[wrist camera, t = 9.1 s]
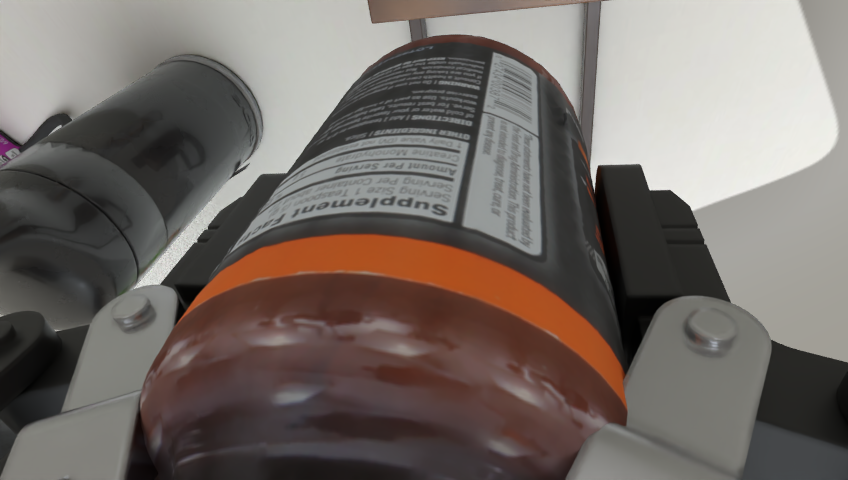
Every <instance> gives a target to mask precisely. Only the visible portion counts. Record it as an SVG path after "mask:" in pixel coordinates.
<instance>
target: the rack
mask: <svg viewBox="0 0 848 480" xmlns="http://www.w3.org/2000/svg"><path fill="white" fill-rule="evenodd" d="M601 1H608V0H368V5H369V10H370V16H371V21H372V23H383V22H394V21H404V20H409V25H410V32H411V39H412V42H413V41H416V40H420V39H424V38H427V34H426V26H425V18H434V17H444V16H455V15H465V14H475V13H485V12H495V11H506V10H516V9H526V8H536V7H546V6H557V5H567V4H577V3H585V17H584V37H583V57H582V77H581V97H580V116H579V125H580V127H581V130H582V134H583V138H584V141H585V144H586V148H587V153H588V160H589V164H590V159H591V144H592V129H593V114H594V99H595V84H596V70H597V55H598V40H599V25H600V10H601Z"/></svg>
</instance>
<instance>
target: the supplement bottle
mask: <svg viewBox="0 0 848 480" xmlns="http://www.w3.org/2000/svg"><path fill="white" fill-rule="evenodd" d="M628 370H629V368H628V364H627V360H626V357H625V353H624V349H623V345H622V338H621V330H620V325H619V321H618V315H617V311H616V306H615V296H614V292H613V287H612V283H611V279H610V276H609V271H608V266H607V262H606V256H605V251H604V245H603V240H602V235H601V230H600V224H599V218H598V212H597V205H596V199H595V194H594V188H593V184H592V179H591V174H590V164H589V160H588V153H587V148H586V144H585V141H584V138H583V134H582V130H581V127H580V125H579V122H578V119H577V116H576V114H575V111H574V108H573V106H572V104H571V102H570V101H569V99H568V97H567V96H566V94H565V92H564V91H563V89H562V88H561V86H560V84H559V83H558V82H557V80H556V79H555V78H554V77H553V76H552V75H551V74H550V73H549V72H548V71H547V70H546V69H545V68H544V67H543V66H542V65H540V64H538V63H537V62H535V61H534V60H533V59H532V58H530V57H528V56H526V55H525V54H523V53H521V52H520V51H518V50H516V49H514V48H512V47H510V46H507V45H505V44H503V43H500V42H497V41H494V40H491V39H487V38H485V37H479V36H478V37H476V36H472V35H441V36H433V37H429V38H424V39H420V40H416V41H413V42H410V43H408V44H406V45H403V46H401V47H399V48H397V49H395V50H393V51H391V52H390V53H388V54H386V55H385V56H383V57H382V58H381V59H379V60H378V61H377V62H376V63H374V64H373V65H371V66H369V67H368V68H367V69H366V71H365V72H364V73H363V74H362V75H361V77H360V78H359V79H358V80H357V81H356V82H355V83H354V84H353V85H352V86H351V88H350V89H349V90H348V91H347V92H346V94H345V95H344V97H343V98H342V99H341V101H340V102H339V103H338V105H337V106H336V108H335V109H334V110H333V112H332V113H331V114H330V116H329V117H328V118H327V120H326V121H325V122H324V123H323V125H322V126H321V127H320V129H319V131H318V132H317V133H316V134H315V135H314V137H313V138H312V140H311V141H310V143H309V144H308V145H307V146H306V147H305V149H304V151H303V152H302V154H301V155H300V156H299V158H298V159H297V160H296V162H295V163H294V165H293V166H292V167H291V169H290V170H289V171H288V173H287V174H286V175H285V176H284V178H283V179H282V180H281V181H280V183H279V184H278V186H277V187H276V188H275V189H274V191H273V192H272V194H271V196H270V197H269V198H268V199H267V201H266V202H265V203H264V204H263V205H262V207H261V208H260V210H259V211H258V213H257V214H256V215H255V217H254V218H253V219H252V220H251V222H250V223H249V225H248V226H247V227H246V229H245V230H244V231H243V233H242V234H241V235H240V236H239V238H238V239H237V240H236V241H235V243H234V244H233V245H232V246H231V248H230V249H229V251H228V253H227V255H226V256H225V258H224V259H223V261H222V262H221V263H220V264H219V265H218V266H217V268H216V269H215V270H214V272H213V273H212V275H211V276H210V278H209V281H208V284H207V285H206V286H205V287H204V288H203V290H202V291H201V292H200V293H199V294H198V295H197V297H196V298H195V299H194V301H193V302H192V304H191V305H190V306H189V308H188V309H187V311H186V312H185V313H184V315H183V316H182V318H181V319H180V320H179V322H178V323H177V325H176V326H175V327H174V329H173V330H172V332H171V333H170V335H169V336H168V338H167V340H166V341H165V343H164V345H163V347H162V348H161V350H160V352H159V353H158V355H157V356H156V358H155V360H154V361H153V363H152V365H151V367H150V369H149V371H148V373H147V375H146V378H145V381H144V383H143V387H142V392H141V397H140V419H141V427H142V430H143V434H144V440H145V445H146V448H147V451H148V454H149V456H150V458H151V460H152V462H153V464H154V466H155V467H156V469H157V471H158V473H159V474H158V475H157V476H156V478H155V480H565V479H566V477H567V475H568V473H569V471H570V469H571V467H572V465H573V463H574V461H575V459H576V457H577V454H578V452H579V450H580V448H581V446H582V444H583V443H584V442H585V440H586V439H587V438H588V437H589V436H590V435H591V434H593V433H594V432H596V431H599V430H600V429H601V428H602V427H603V426H604V425H606V424H608V423H610V422H616V423H619V424H621V425H623V426H626V425H627V415H628V410H627V404H626V399H625V394H624V388H623V380H624V378H625V376H626V374H627V372H628Z"/></svg>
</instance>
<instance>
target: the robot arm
mask: <svg viewBox="0 0 848 480" xmlns="http://www.w3.org/2000/svg"><path fill="white" fill-rule="evenodd" d="M59 125H62V127H61V128H60V129H58V130H57V131H55V132H53V133H52V134H50V133H51V132H52V130H54V129H55V128H56V127H57V126H59ZM49 134H50V135H49ZM48 135H49V136H48ZM261 137H262V119H261V114H260V111H259V108H258V105H257V103H256V101H255V99H254V97H253V96H252V94H251V92H250V91H249V90H248V88H247V87H246V86H245V85H244V83H243V82H242V81H241V80H240V79H239V78H238V77H237V76H236V75H235V74H233V73H232V72H231V71H230V70H228V69H227V68H225V67H224V66H222V65H220V64H219V63H217V62H214V61H212V60H210V59H207V58H204V57H200V56H194V55H181V56H176V57H172V58H170V59H168V60H166V61H165V62H163V63H161V64H160V65H158V66H157V67H156V68H155V69H154V70H153V71H151V72H150V73H148V74H146V75H145V76H143V77H142V78H140V79H138V80H137V81H135V82H133V83H132V84H130V85H129V86H127V87H125V88H124V89H122V90H121V91H119V92H117V93H116V94H114V95H113V96H111V97H109V98H108V99H106V100H105V101H103V102H101V103H100V104H98V105H97V106H95V107H93V108H92V109H90V110H89V111H87V112H85V113H84V114H82V115H81V116H79V117H77V118H76V119H74V120H73V121H72V119H71V118H70V117H69V116H68V115H65V114H57V115H54V116H52V117H50V118H49V119H47V120H46V121H45V122H44V123H43V124H42V125H41V126H40V127H39V128H38V130H37V131H36V132H35V133H34V134H33V136H32V137H31V138H30V139H29V140H28V141H27V142H26V143H25V144H24V145H23V146H21V147H20V148H19V152H20V154H19V155H17V156H15V157H14V158H12V159H11V160H9V161H7V162H6V163H4V164H3V165H1V166H0V314H1V315H4V316H2V317H0V480H155V478H156V476H157V475H158V474H159V473H158V471H157V469H156V467H155V466H154V464H153V462H152V460H151V458H150V456H149V454H148V451H147V448H146V445H145V440H144V434H143V430H142V427H141V419H140V397H141V392H142V387H143V383H144V381H145V378H146V375H147V373H148V371H149V369H150V367H151V365H152V363H153V361H154V360H155V358H156V356H157V355H158V353H159V352H160V350H161V348H162V347H163V345H164V343H165V341H166V340H167V338H168V336H169V335H170V333H171V332H172V330H173V329H174V327H175V326H176V325H177V323H178V322H179V320H180V319H181V318H182V316H183V315H184V313H185V312H186V311H187V309H188V308H189V306H190V305H191V304H192V302H193V301H194V299H195V298H196V297H197V295H198V294H199V293H200V292H201V291H202V290H203V288H204V287H205V286H206V285H207V284H208V281H209V278H210V276H211V275H212V273H213V272H214V270H215V269H216V268H217V266H218V265H219V264H220V263H221V262H222V261H223V259H224V258H225V256H226V255H227V253H228V251H229V249H230V248H231V246H232V245H233V244H234V243H235V241H236V240H237V239H238V238H239V236H240V235H241V234H242V233H243V231H244V230H245V229H246V227H247V226H248V225H249V223H250V222H251V220H252V219H253V218H254V217H255V215H256V214H257V213H258V211H259V210H260V208H261V207H262V205H263V204H264V203H265V202H266V201H267V199H268V198H269V197H270V196H271V194H272V192H273V191H274V189H275V188H276V187H277V186H278V184H279V183H280V181H281V180H282V179H283V178H284V176H285V175H286V174H287V173H282V174H262V175H260V176H259V177H258V179H257V180H256V181H255V182H254V184H253V185H252V186H251V188H250V189H249V190H248V191H247V193H246V194H245V195H244V196H243V197H240V198H239V199H237V200H236V201H234V202H233V203H231V204H230V205H228V206H227V207H226V208H224V209H223V210H221V211H220V212H219V213H218V215H217V216H216V217H215V218H214V220H213V221H212V222H211V223H210V224H209V226H208V230H204V232H203V233H202V234H201V235H200V237H199V238H198V239H197V243H194V244H193V245H192V246H191V247H190V249H189V250H188V251H187V252H186V254H185V255H184V256H183V257H182V258H181V260H180V261H179V262H178V263H177V264H176V266H175V267H174V268H173V269H172V271H171V272H170V273H169V274H168V275H167V277H166V278H165V279H164V280H163V281H162V283H161V284H160V285H149V286H144V287H139V288H136V289H134V287H135V286H136V285H137V284H138V283H139V282H140V281H141V279H142V278H143V277H144V276H145V275H146V274H147V273H148V271H149V270H150V269H151V268H152V267H153V266H154V265H155V263H156V262H157V261H158V260H159V259H160V257H161V256H162V255H163V254H164V253H165V252H166V250H167V249H168V248H169V247H170V246H171V245H172V244H173V242H174V241H175V240H176V239H177V238H178V237H179V236H180V234H181V233H182V232H183V231H184V230H185V229H186V228H187V226H188V225H189V224H190V223H191V222H192V221H193V220H194V218H195V217H196V216H197V215H198V214H199V213H200V212H201V210H202V209H203V208H204V207H205V206H206V205H207V204H208V202H209V201H210V200H211V199H212V198H213V197H214V196H215V194H216V193H217V192H218V191H219V190H220V189H221V188H222V186H223V185H224V184H225V183H226V182H227V181H228V180H229V179H230V178H232V177H234V176H235V175H237V174H238V173H240V172H241V171H243V170H244V169H246V167H247V166H248V165H249V164H250V163H249V164H248V165H246V166H244V167H243V168H241V169H240V170H238V171H237V172H236V170H237V169H238V168H239V167H240V166H241V165H242V164H243V163H244V162H245V161H246V160H248V159H249V158H250V157H251V155H252V154H253V153H254V152H255V151H256V149H257V148H258V146H259V143H260V141H261ZM595 199H596V205H597V212H598V218H599V224H600V230H601V235H602V240H603V245H604V251H605V256H606V262H607V266H608V271H609V276H610V279H611V283H612V287H613V292H614V296H615V306H616V311H617V315H618V321H619V325H620V330H621V338H622V345H623V349H624V353H625V357H626V360H627V364H628V368H629V370H628V372H627V374H626V376H625V378H624V380H623V388H624V394H625V399H626V404H627V410H628V415H627V425H626V426H623V425H621V424H619V423H616V422H610V423H608V424H606V425H604V426H603V427H602V428H601V429H600V430H599V431H596V432H594V433H593V434H591V435H590V436H589V437H588V438H587V439H586V440H585V442H584V443H583V444H582V446H581V448H580V450H579V452H578V454H577V457H576V459H575V461H574V463H573V465H572V467H571V469H570V471H569V473H568V475H567V477H566V479H565V480H848V363H847V362H843V361H839V360H835V359H831V358H827V357H823V356H820V355H816V354H812V353H807V352H804V351H800V350H797V349H793V348H790V347H787V346H784V345H782V344H779V343H777V342H775V341H773V340H771V339H770V336H769V334H768V332H767V330H766V329H765V327H764V326H763V325H762V324H761V323H760V322H759V321H758V320H757V319H756V318H755V317H754V316H753V315H751V314H750V313H749V312H747V311H746V310H744V309H742V308H741V307H739V306H736V305H734V304H732V303H731V302H730V299H729V297H728V295H727V292H726V290H725V288H724V285H723V283H722V280H721V278H720V276H719V273H718V271H717V269H716V267H715V264H714V262H713V259H712V257H711V255H710V252H709V250H708V248H707V245H705V244H704V238H703V236H702V234H701V231H700V229H698V227H697V226H698V224H697V222H696V220H695V217H694V215H693V213H692V210H691V208H690V206H689V205H688V204H687V203H685V202H684V201H683V200H682V199H680V198H679V197H678V196H677V195H676V194H674V193H673V192H672V191H671V190H656V191H649V188H648V185H647V182H646V179H645V176H644V173H643V170H642V167H641V165H640V164H633V165H599V166H598V168H597V174H596V183H595ZM54 329H55V330H61V331H57V332H55V330H54Z"/></svg>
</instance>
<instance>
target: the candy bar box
mask: <svg viewBox="0 0 848 480" xmlns="http://www.w3.org/2000/svg"><path fill="white" fill-rule="evenodd" d="M20 147H21V146H19V145H18V144H17V143H15V142H14V141H13V140H11V139H10V138H8V137H7V136H6V135H4V134H3V133H2V132H0V166H1V165H3V164H4V163H6V162H7V161H9V160H11V159H12V158H14V157H15V156H17V155H19V154H20V152H19V148H20Z"/></svg>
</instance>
